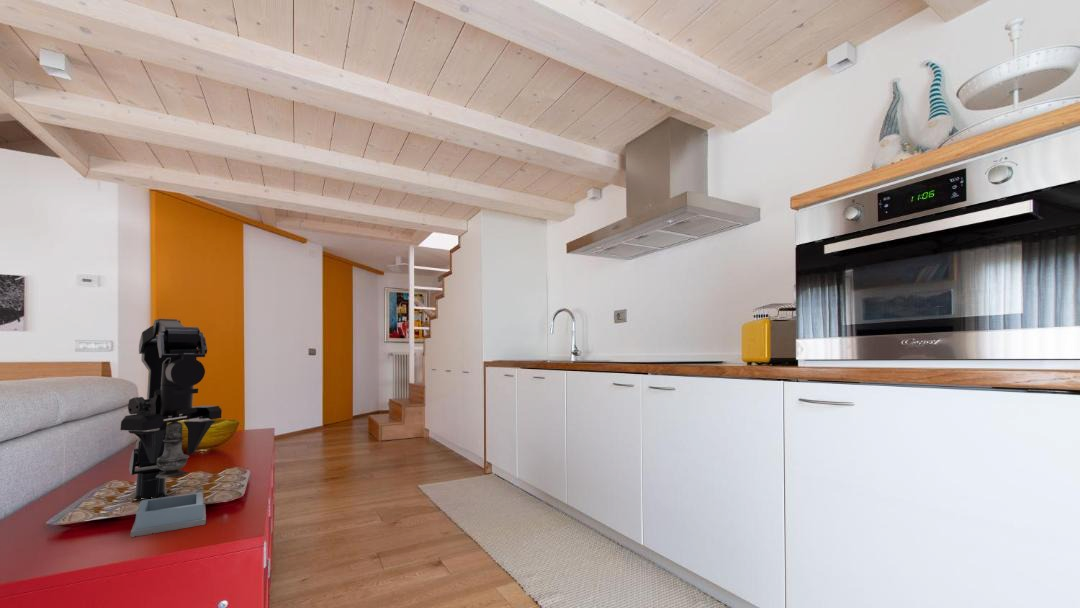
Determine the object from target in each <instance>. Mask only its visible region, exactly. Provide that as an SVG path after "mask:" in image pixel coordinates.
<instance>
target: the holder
mask: <svg viewBox="0 0 1080 608" xmlns="http://www.w3.org/2000/svg"><path fill="white" fill-rule="evenodd" d="M206 510H207V509H206V504H205V503H204V491H199V492H193V493H192V492H191V493H183V494H178V495H169V496H165V497H158V498H151V499H143V500H140V503H139V506H138V509H137V511H136V514H135V520H134V521H133V522H134V523H133V524H132V528H131V530H130V538H135V536H136V537H140V536H146V535H152V533H153V534H157V533H164V532H170V531H174V530H176V531H177V530H181V529H186V528H192V527H198V526H203V525H204V526H205V525H206V524H207V523H206V522H207V514H206Z"/></svg>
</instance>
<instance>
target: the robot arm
mask: <svg viewBox="0 0 1080 608" xmlns="http://www.w3.org/2000/svg"><path fill="white" fill-rule="evenodd" d="M207 352H208V346H207V341H206V337H205V336H204V333H203V332H202V331H201V330H200V328H199V327H198V326H185V325H183V324H181V320H180V319H179V320H178V319H176V318H174V319H173V318H157V319H154V320H153V324H152V325H151V326H150V327H148V328H146V329H145V330H143V331H142V332H141V336H140V339H139V343H138V354H139V355H140V354H141V360H140V361H141V362H142V363H143V365H144V366H145V368H146V369H147V370H148V375H147V376H148V377H147V378H148V379H147V391H146V399H145V397H143V396H139V397H138V396H137V397H132V398H130V399H129V400H128V405H127V409H128V411H127V412H128V415H125V416H124V417H123V418H122V419H121V421H120V431H128V433H129V434H132V435H135V436H136V437H138V438H137V440H136V443H135V448H132V449H131V450H132V451H131V456H130V459H129V466H128V468H129V469H128V471H129V474H130V475H131V476H134V475H136V482H135V483H136V485H135V492H133V493H134V494H133V496H132V498H131V500H132V499H141V498H151V497H158V498H162V497H163V496H165V497H167V494H168V488H166V481H167V480H166V479H167V478H156V476H157V475H158V474H159V473H162V472H165V471H162V470H160V469H159V468H158V467H157V459H158V458H160V457H161V456H162V455H163V452H164V445H165V442H164V441H163V440H164V439H165V437H166V426H167V425H168V424H169V423H172V422H175V421H177V422H181V421H183V423H184V425H185V427H186V428H187V445H186V446H187V455H193V454H194V453H195V451H196V450H197V449H198V446H199V445H200V443H201V441H202V440H203V439H204V437H205V434H206V433H207V432H208V431H209V429H210V428H211V427H212V425H213V424H215V423H216V419H221V418H222V411H223V410H222V408H221V407H220V406H219V405H197V406H194V405H193V402H194V394H198V393H199V388H194V386H195V385H198V384H199V383H200V382H201V381H202V380H203V379H204V377H205V374H206V369H205V366H204V364H203V363H202V362H201V361H200V360H198V358H205V357H206V355H207ZM151 499H152V498H151Z"/></svg>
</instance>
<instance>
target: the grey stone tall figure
mask: <svg viewBox="0 0 1080 608" xmlns="http://www.w3.org/2000/svg"><path fill="white" fill-rule="evenodd" d="M183 426H184V425H183V424H182V422H181V421H175V422H169V423H167V426H166V437H165V439H164V440H163V441H164V442H165V445H164V452H163V455H162V456H161V457H160V458H158V459H157V467H158V468H159V469H160V470H162V471H165V472H162V473H159V474H158V475H157V476H156V478H166V479H170V478H177V477H181V476H185V475H187V473H188V472H187V471H185V470H184V469H182V468H184V467H185V466H186V464H187V462H188V458H190V454H185V453H184V452H183V441H184V440H185V438H183Z"/></svg>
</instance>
